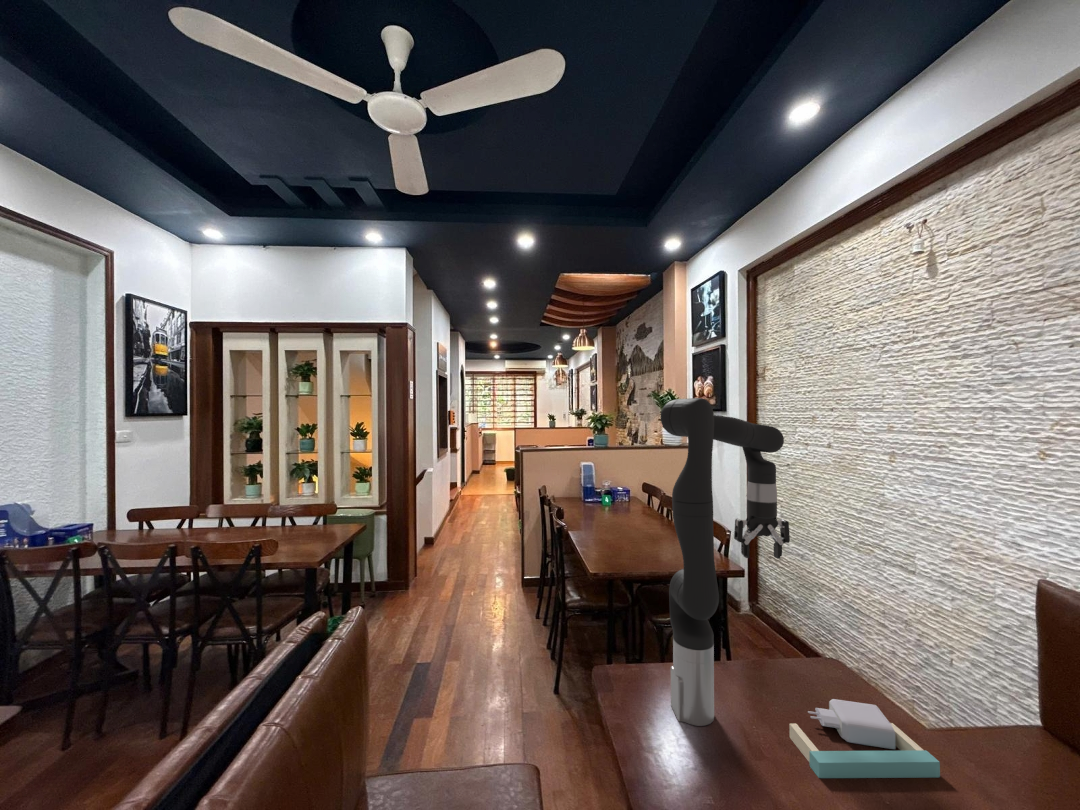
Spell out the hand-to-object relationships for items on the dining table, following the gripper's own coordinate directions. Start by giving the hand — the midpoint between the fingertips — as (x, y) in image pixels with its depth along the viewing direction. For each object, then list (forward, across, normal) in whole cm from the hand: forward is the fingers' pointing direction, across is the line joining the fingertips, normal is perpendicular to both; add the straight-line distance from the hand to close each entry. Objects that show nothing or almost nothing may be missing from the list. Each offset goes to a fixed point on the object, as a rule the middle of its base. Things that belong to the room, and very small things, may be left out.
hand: (761, 557), depth 122 cm
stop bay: (+32, +6, -29) cm, 44 cm away
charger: (+32, +8, -21) cm, 40 cm away
